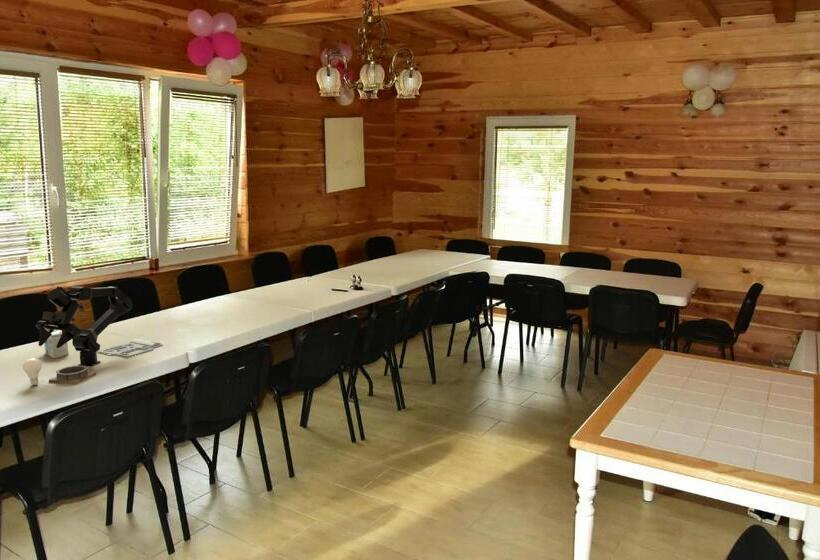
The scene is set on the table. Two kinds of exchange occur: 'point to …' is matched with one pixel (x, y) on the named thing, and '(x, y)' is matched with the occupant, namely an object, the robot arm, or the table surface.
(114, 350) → the grey openwork panel
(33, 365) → the lightbulb
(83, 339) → the robot arm
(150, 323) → the table surface
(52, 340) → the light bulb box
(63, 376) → the bulb holder
